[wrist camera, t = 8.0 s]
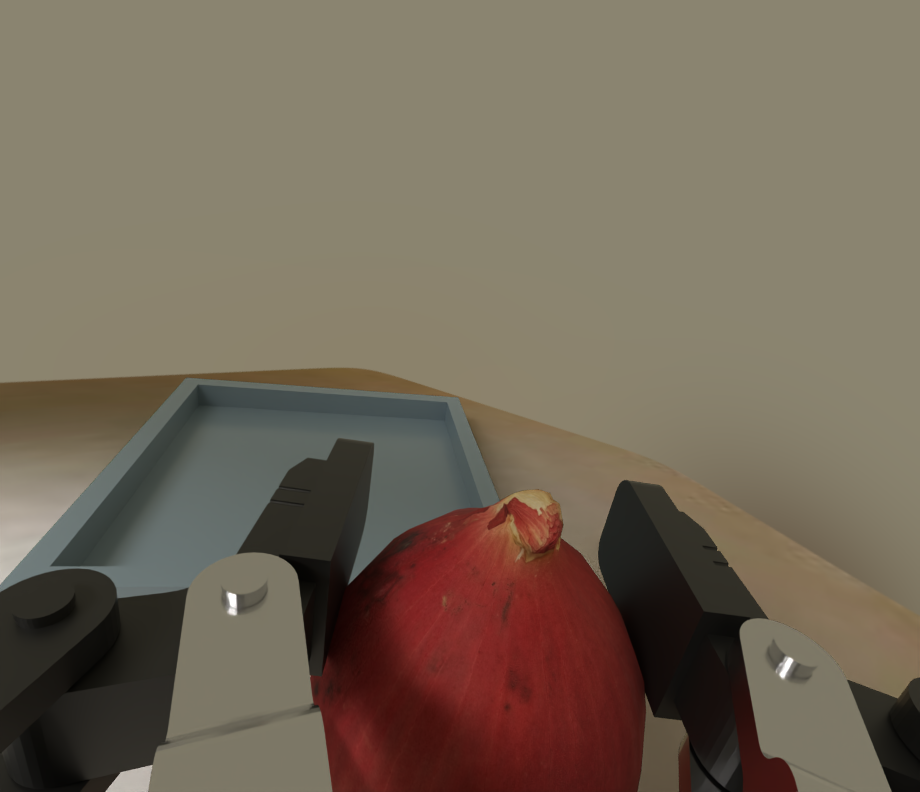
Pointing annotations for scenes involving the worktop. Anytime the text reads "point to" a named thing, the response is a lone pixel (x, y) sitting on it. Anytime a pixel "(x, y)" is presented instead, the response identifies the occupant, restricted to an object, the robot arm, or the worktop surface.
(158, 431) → the dish
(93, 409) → the worktop surface
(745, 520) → the worktop surface
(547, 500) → the onion
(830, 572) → the worktop surface
